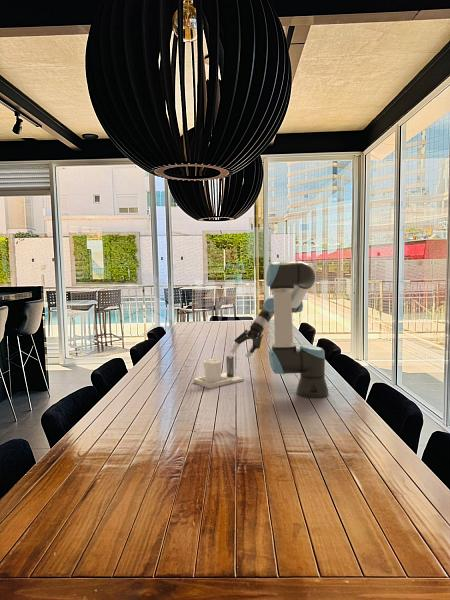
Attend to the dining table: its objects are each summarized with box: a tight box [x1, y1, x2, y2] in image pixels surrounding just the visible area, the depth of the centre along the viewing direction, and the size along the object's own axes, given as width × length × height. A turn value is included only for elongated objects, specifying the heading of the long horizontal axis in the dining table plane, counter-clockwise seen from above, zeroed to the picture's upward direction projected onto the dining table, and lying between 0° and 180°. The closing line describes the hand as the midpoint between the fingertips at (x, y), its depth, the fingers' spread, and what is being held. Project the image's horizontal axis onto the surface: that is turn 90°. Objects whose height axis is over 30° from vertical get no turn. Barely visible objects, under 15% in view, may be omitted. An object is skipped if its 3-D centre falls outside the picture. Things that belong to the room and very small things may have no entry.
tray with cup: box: [193, 355, 245, 389], centre depth 234 cm, size 16×22×12 cm
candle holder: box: [203, 358, 223, 384], centre depth 232 cm, size 10×10×12 cm
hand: (239, 355), depth 244 cm, fingers open, 13 cm apart
